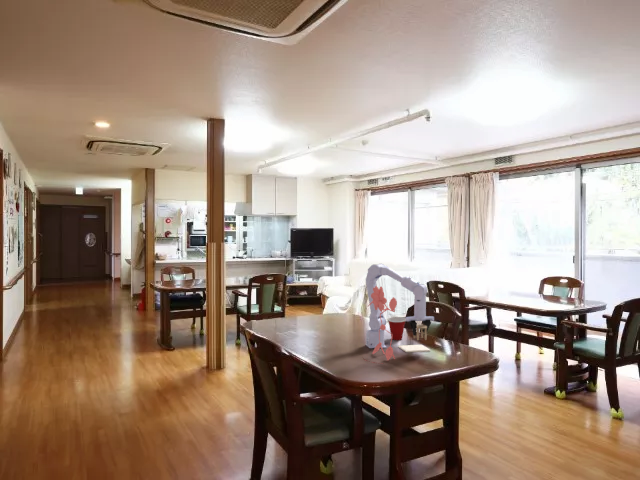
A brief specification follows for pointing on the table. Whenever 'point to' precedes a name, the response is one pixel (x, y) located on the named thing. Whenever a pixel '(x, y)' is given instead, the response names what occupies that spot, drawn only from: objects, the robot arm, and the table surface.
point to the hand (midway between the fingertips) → (419, 335)
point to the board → (414, 348)
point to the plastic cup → (396, 327)
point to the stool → (421, 331)
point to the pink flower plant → (379, 303)
